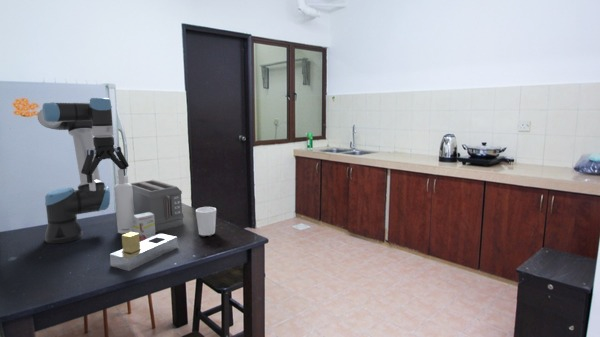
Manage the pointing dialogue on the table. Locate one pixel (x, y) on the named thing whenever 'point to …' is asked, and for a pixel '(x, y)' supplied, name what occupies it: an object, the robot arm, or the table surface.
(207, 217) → the cup
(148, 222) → the ink box
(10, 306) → the table surface
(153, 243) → the white peg board
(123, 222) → the bottle
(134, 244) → the gold square peg
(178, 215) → the toaster
